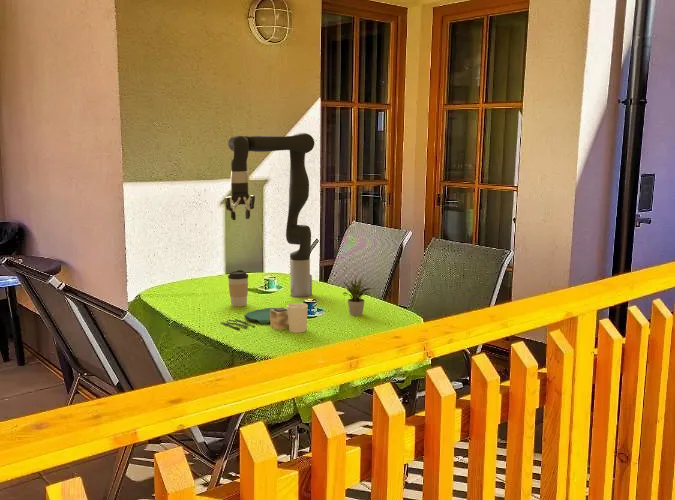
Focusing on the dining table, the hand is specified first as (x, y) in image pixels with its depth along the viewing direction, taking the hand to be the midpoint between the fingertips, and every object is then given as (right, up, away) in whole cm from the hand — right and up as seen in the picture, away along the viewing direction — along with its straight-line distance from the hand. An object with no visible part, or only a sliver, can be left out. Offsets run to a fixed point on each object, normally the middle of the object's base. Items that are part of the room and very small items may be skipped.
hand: (240, 219), depth 311 cm
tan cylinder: (+28, -45, -41) cm, 67 cm away
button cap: (+21, -39, -37) cm, 58 cm away
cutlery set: (+11, -43, -25) cm, 51 cm away
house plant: (+50, -41, -19) cm, 68 cm away
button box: (+21, -44, -36) cm, 61 cm away
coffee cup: (-1, -38, +1) cm, 38 cm away
